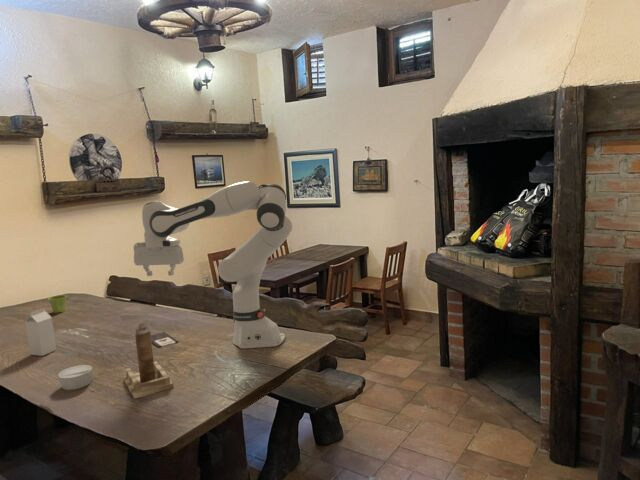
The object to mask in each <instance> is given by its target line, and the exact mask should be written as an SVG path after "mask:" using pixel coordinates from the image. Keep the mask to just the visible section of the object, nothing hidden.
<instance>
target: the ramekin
mask: <svg viewBox="0 0 640 480" xmlns="http://www.w3.org/2000/svg"><path fill="white" fill-rule="evenodd" d="M92 376H93V367H92V365H89V364H79V365H74V366H71V367H67V368H65V369H63V370H60V372H59V373H58V374H57V378H58V380H59V383H60V385H61V388H62V389H64V390H65V391H75V390H79V389H83V388H84V387H87V386H88V385H90V384H91V382H92V378H93V377H92Z"/></svg>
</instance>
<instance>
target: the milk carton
mask: <svg viewBox="0 0 640 480" xmlns="http://www.w3.org/2000/svg"><path fill="white" fill-rule="evenodd" d="M24 323H25V329H26V335H27V343H28V349H29V355H31V356H41V357H43V356H45V355H49V354H50V353H52V352H55V351H56V350H57V345H56V340H55V339H56V337H55V332H54V325H53V317H52V316H51V315H50V314H49V313H48V312H47V311H46V309H45V307H44V308H40V309H37V310H35V311H32V312H29V316H28V317H27V318H26V320H25V321H24Z"/></svg>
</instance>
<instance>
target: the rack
mask: <svg viewBox="0 0 640 480" xmlns="http://www.w3.org/2000/svg"><path fill="white" fill-rule="evenodd" d="M154 371H155V380H151V381H148V382H144V383H142V382H140V373H139V372H136V373H134V372H133V371H132V369H131V368H130V367H129V368H126V369H125V373H126V374H125V376H123V381H124V383H125V385H126V386H127V389H128V391H129V392H130V394H131V395H132V397H133V399H138V398H141V397H146V396H149V395H152V394H156V393H159V392H163V391H166V390H169V389H173V388H174V387H175V385H174V382H173V381H172V380H171V378H170V376H169V375H168V374H167V372H166V371H165V370H164V368H163V367H162V366H161V365H160V364H159V362H158V361H154Z"/></svg>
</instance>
